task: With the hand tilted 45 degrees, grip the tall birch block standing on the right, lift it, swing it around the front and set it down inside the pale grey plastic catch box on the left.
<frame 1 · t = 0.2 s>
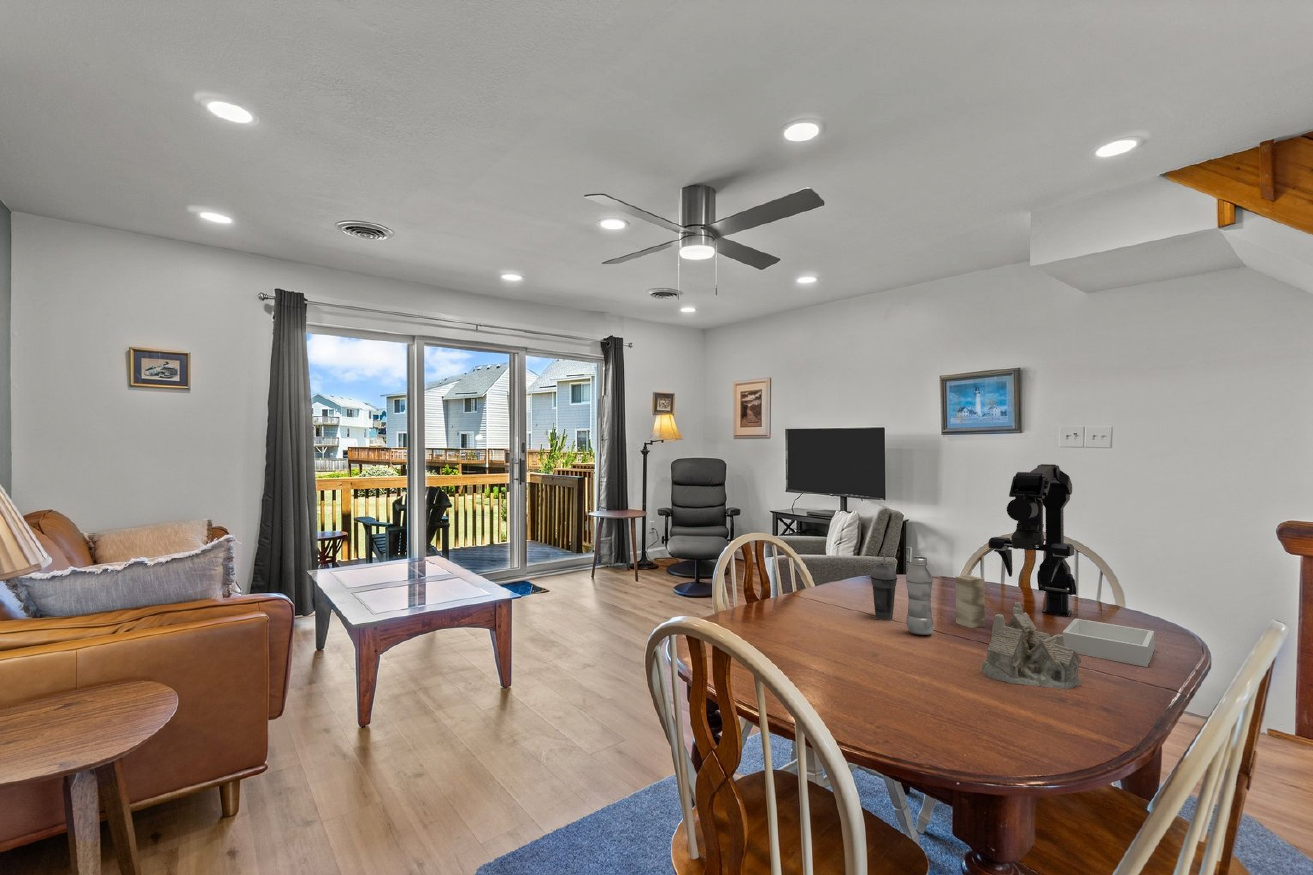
hand: (1030, 579, 161), 14 cm above the table, tool pointing down, fingers open, 9 cm apart
beverage cup: (884, 618, 175), on the table
ceramic cottage: (1028, 677, 131), on the table
birch block: (970, 624, 169), on the table
plastic bottle: (919, 634, 161), on the table
catch box: (1108, 650, 148), on the table
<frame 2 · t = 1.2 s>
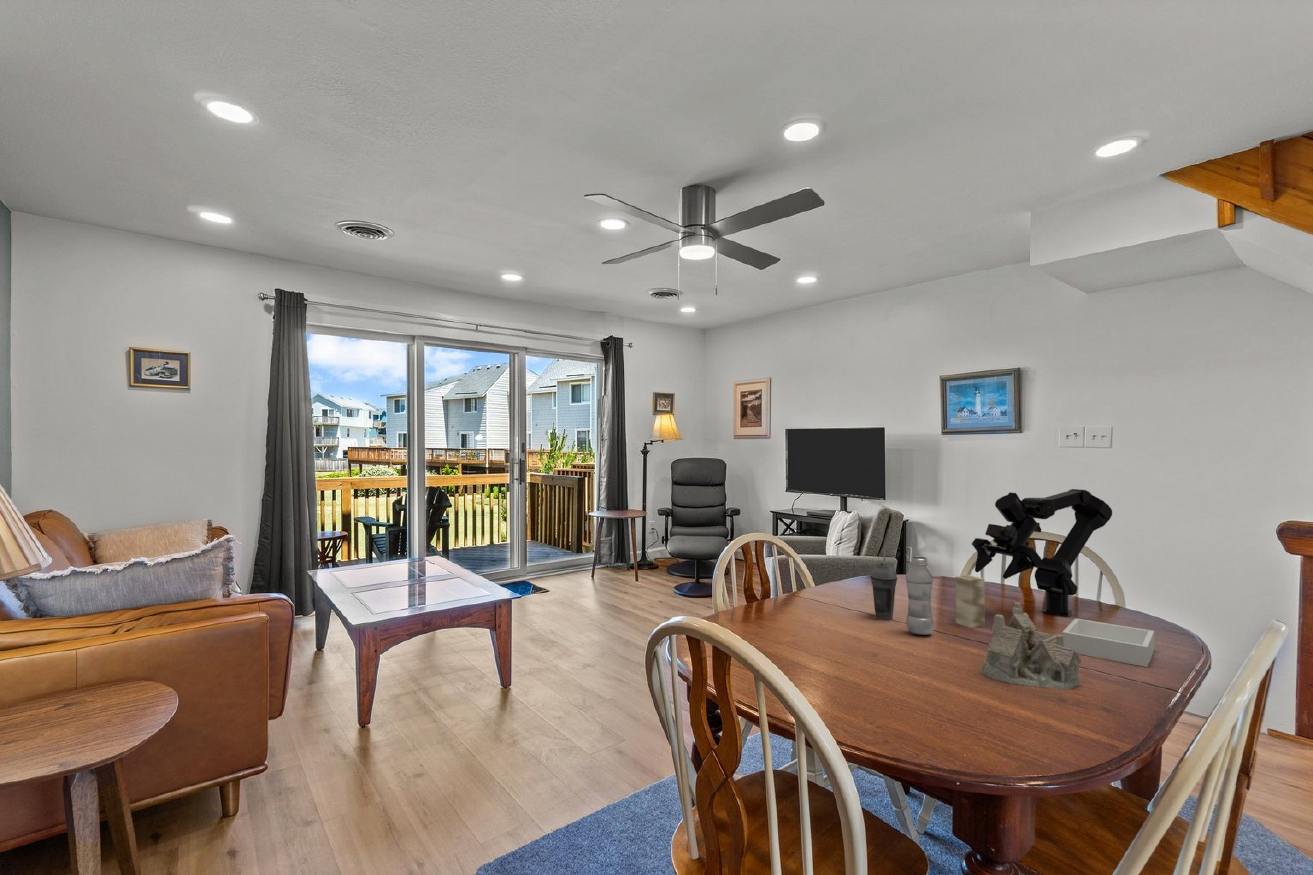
hand: (989, 574, 171), 13 cm above the table, tool tilted 45°, fingers open, 9 cm apart
nothing on the table moved.
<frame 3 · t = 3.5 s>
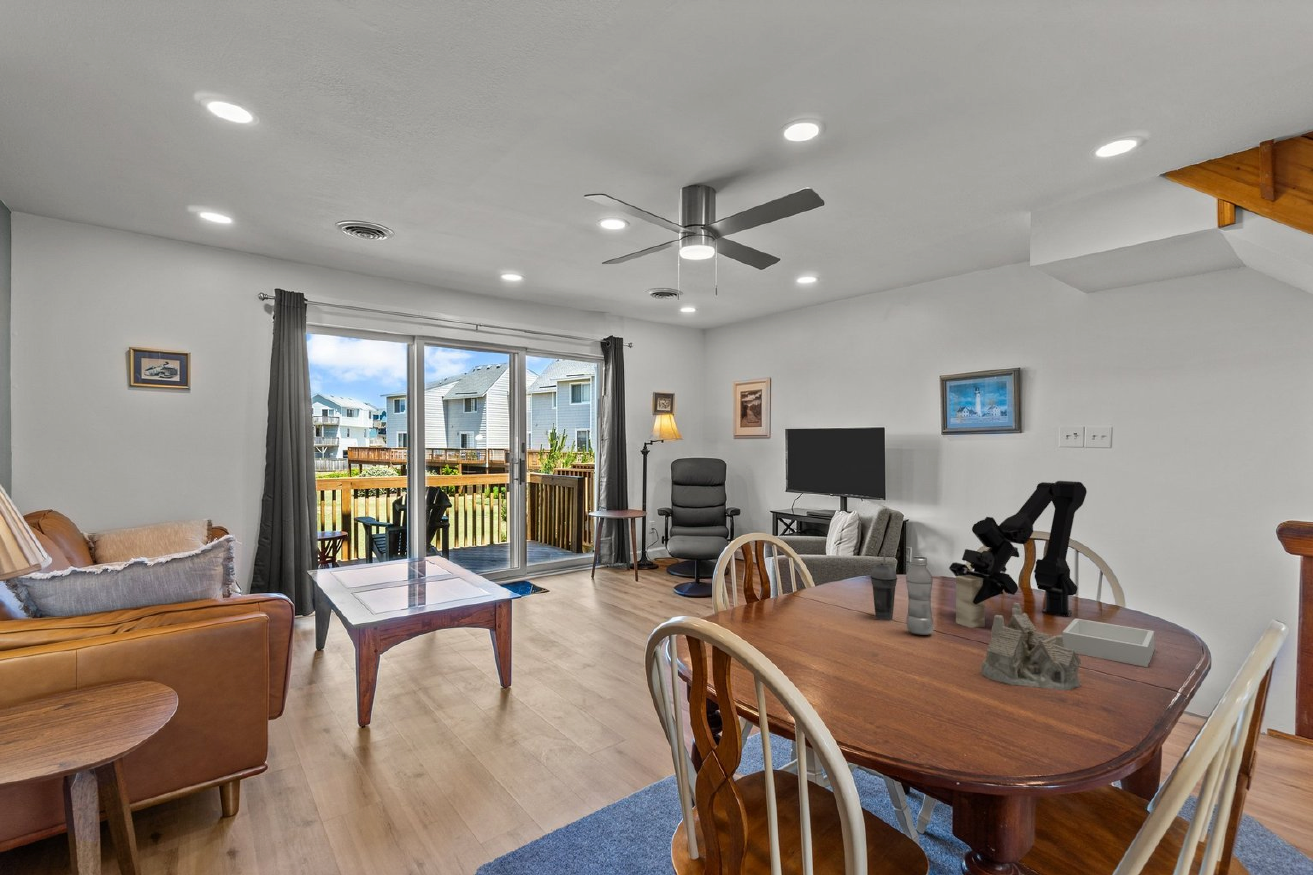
hand: (965, 600, 169), 7 cm above the table, tool tilted 45°, fingers closed on birch block, 5 cm apart
birch block: (970, 624, 169), on the table, touching gripper
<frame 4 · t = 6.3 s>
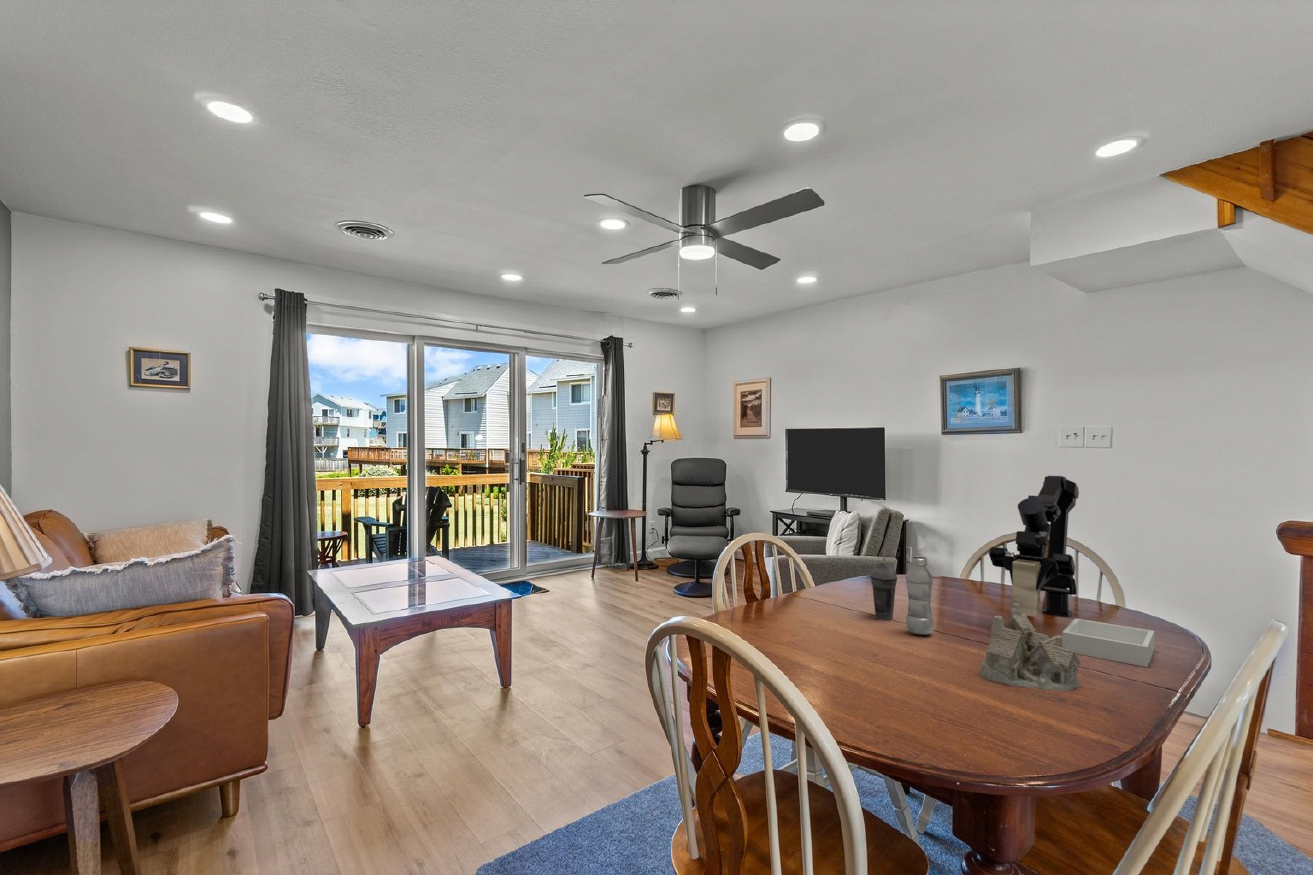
hand: (1025, 587, 155), 13 cm above the table, tool tilted 45°, fingers closed on birch block, 5 cm apart
birch block: (1026, 612, 156), point 7 cm above the table, touching gripper
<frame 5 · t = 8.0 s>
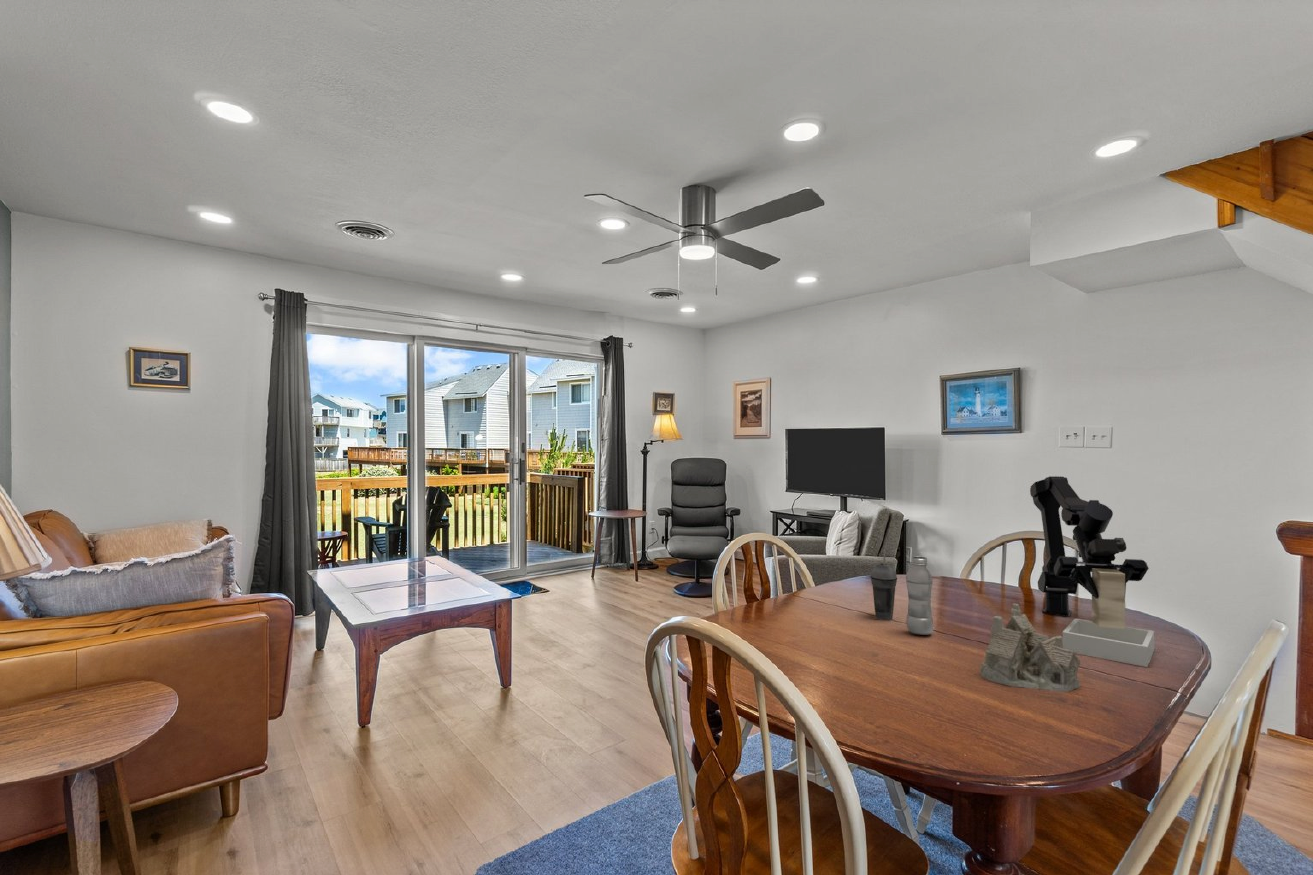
hand: (1110, 598, 147), 13 cm above the table, tool tilted 45°, fingers closed on birch block, 5 cm apart
birch block: (1107, 624, 148), point 6 cm above the table, touching gripper
when the fingers open (9 cm above the table, at t = 9.1 s): birch block drops 1 cm, resting on catch box.
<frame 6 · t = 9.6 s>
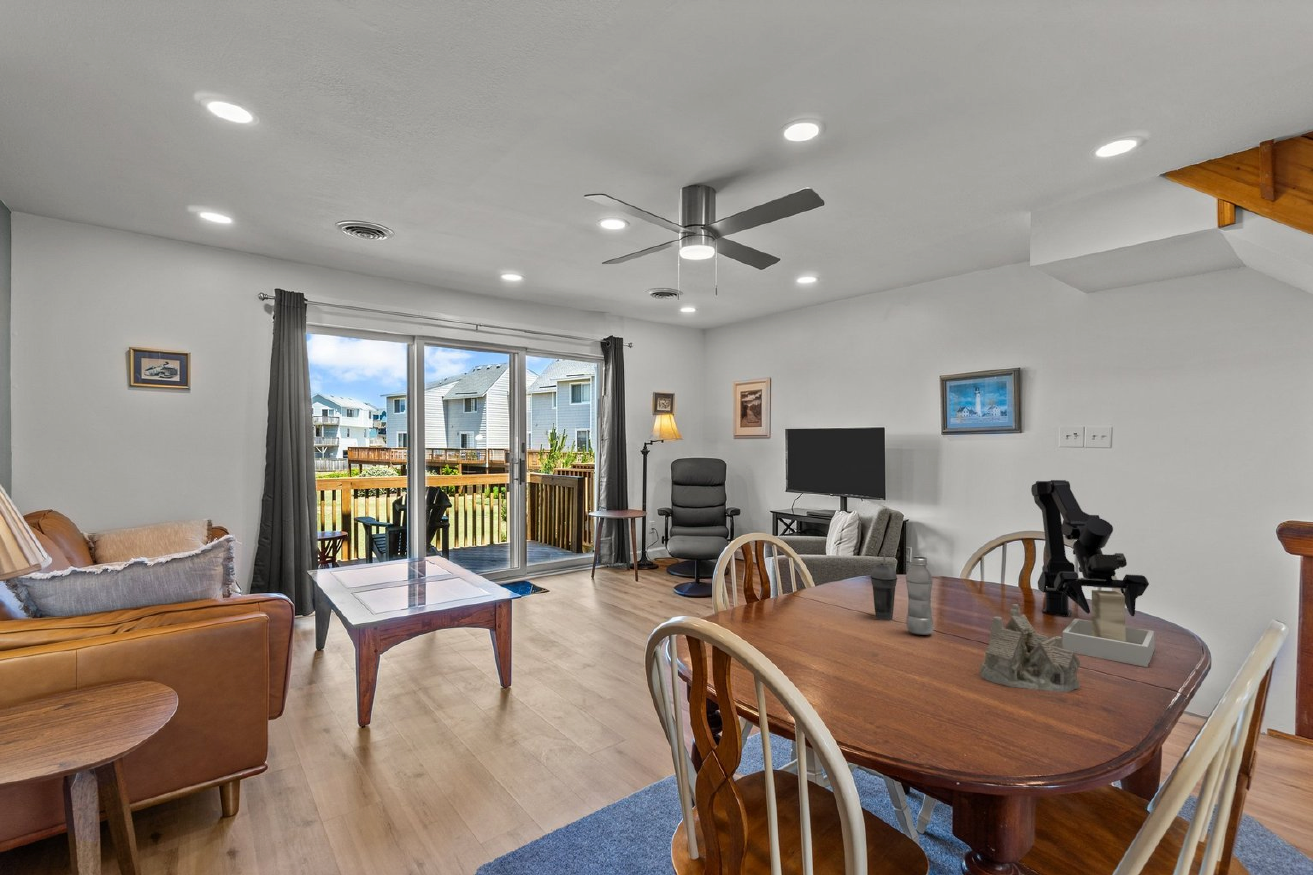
hand: (1110, 614, 146), 9 cm above the table, tool tilted 45°, fingers open, 9 cm apart
birch block: (1108, 646, 148), point 1 cm above the table, touching catch box
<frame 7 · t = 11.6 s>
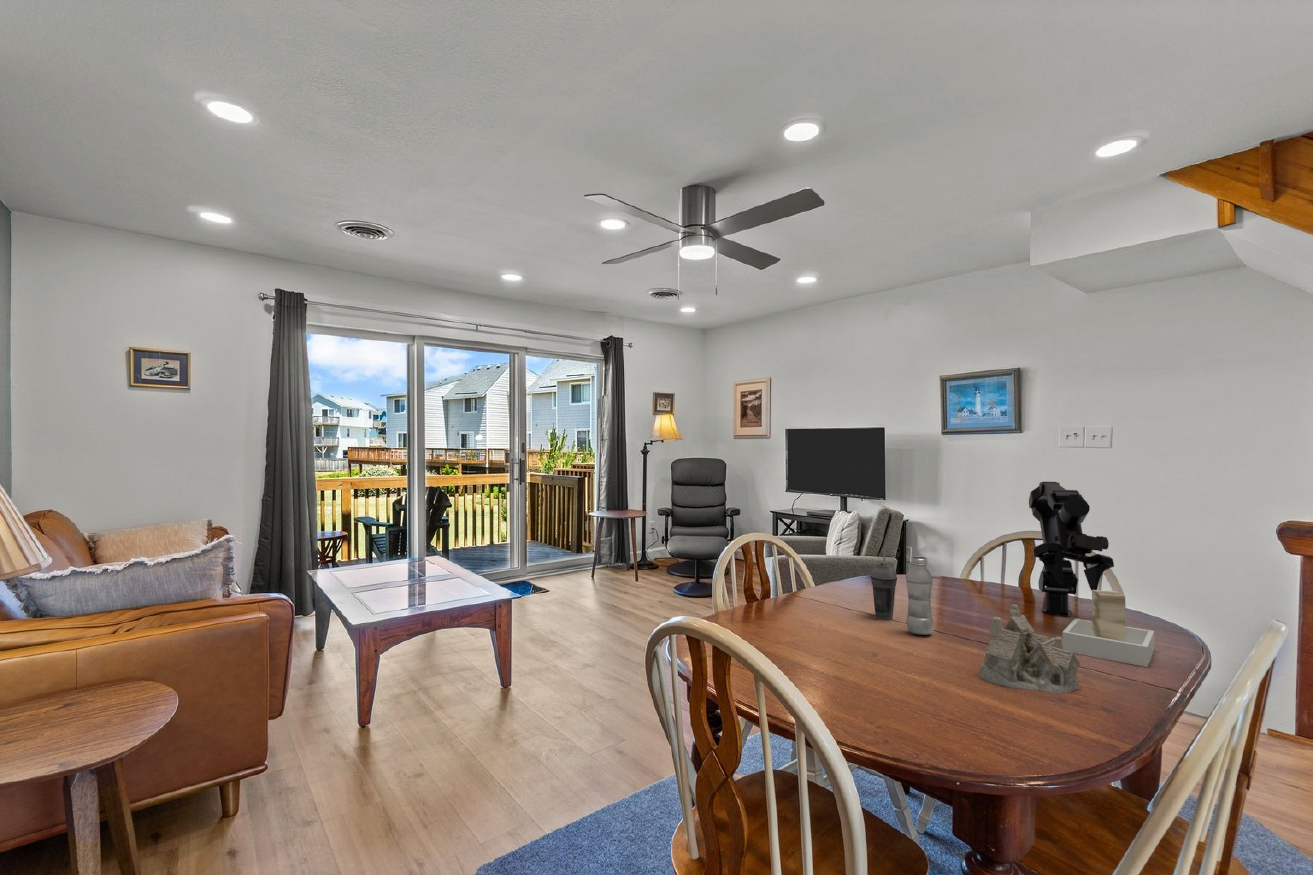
hand: (1077, 587, 159), 12 cm above the table, tool tilted 30°, fingers open, 9 cm apart
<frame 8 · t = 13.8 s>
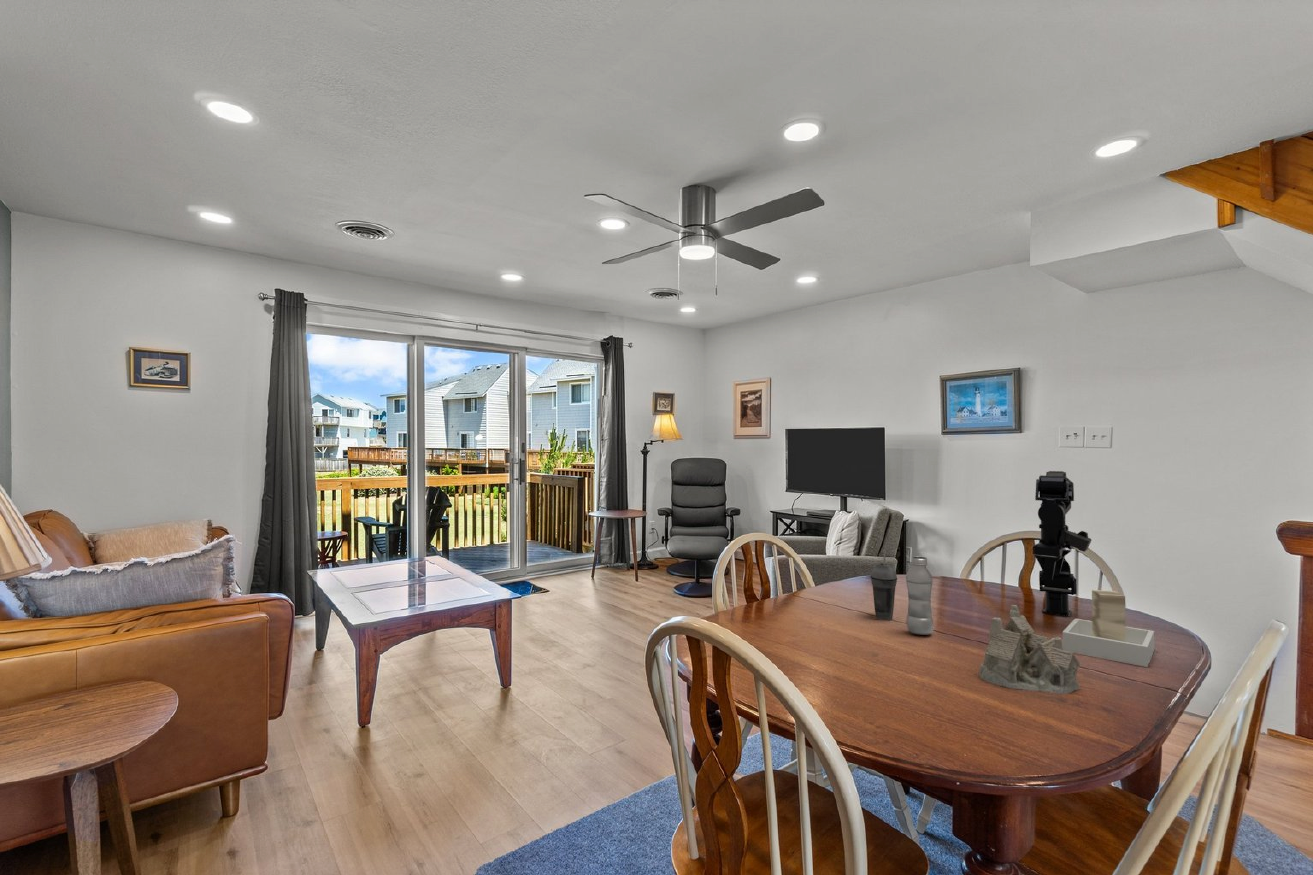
hand: (1053, 577, 168), 13 cm above the table, tool pointing down, fingers open, 9 cm apart
at the end: birch block inside the target area on the catch box (0.0 cm from its centre), point 0.8 cm above the catch box's base; the gripper is holding nothing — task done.
